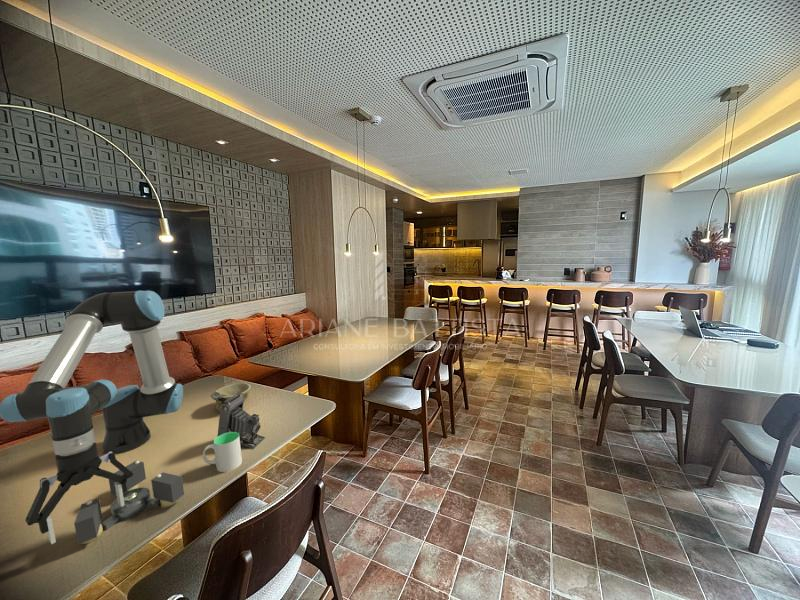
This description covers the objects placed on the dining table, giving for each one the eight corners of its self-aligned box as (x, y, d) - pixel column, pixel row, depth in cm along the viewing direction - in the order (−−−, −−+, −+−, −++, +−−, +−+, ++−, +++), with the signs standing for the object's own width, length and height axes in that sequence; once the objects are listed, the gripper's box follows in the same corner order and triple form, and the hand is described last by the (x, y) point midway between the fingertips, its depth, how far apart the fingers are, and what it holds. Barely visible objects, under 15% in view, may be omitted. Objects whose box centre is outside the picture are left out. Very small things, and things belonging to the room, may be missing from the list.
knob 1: (77, 552, 81) (71, 522, 80) (83, 531, 87) (78, 503, 86) (100, 542, 83) (95, 513, 82) (105, 523, 90) (100, 495, 89)
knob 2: (172, 509, 94) (169, 483, 93) (153, 504, 96) (149, 479, 95) (186, 499, 98) (183, 473, 97) (167, 494, 100) (163, 469, 99)
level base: (87, 523, 90) (84, 508, 89) (132, 493, 101) (130, 479, 101) (121, 534, 86) (118, 518, 85) (164, 501, 97) (162, 487, 97)
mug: (202, 478, 107) (198, 449, 106) (206, 464, 115) (203, 437, 113) (241, 468, 112) (238, 441, 111) (242, 455, 119) (240, 429, 118)
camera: (250, 459, 123) (257, 413, 119) (213, 445, 125) (219, 400, 122) (267, 443, 133) (274, 400, 130) (232, 430, 136) (239, 388, 133)
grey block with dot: (111, 499, 99) (106, 474, 98) (138, 482, 106) (134, 458, 105) (120, 502, 98) (116, 476, 96) (147, 484, 105) (144, 460, 104)
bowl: (241, 396, 172) (239, 380, 171) (258, 404, 162) (257, 387, 161) (206, 409, 158) (204, 391, 157) (223, 419, 148) (221, 400, 147)
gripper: (2, 482, 69) (20, 566, 72) (140, 429, 90) (150, 496, 93) (-4, 471, 73) (14, 551, 76) (130, 422, 94) (139, 487, 97)
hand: (89, 521), depth 85 cm, fingers open, 13 cm apart
